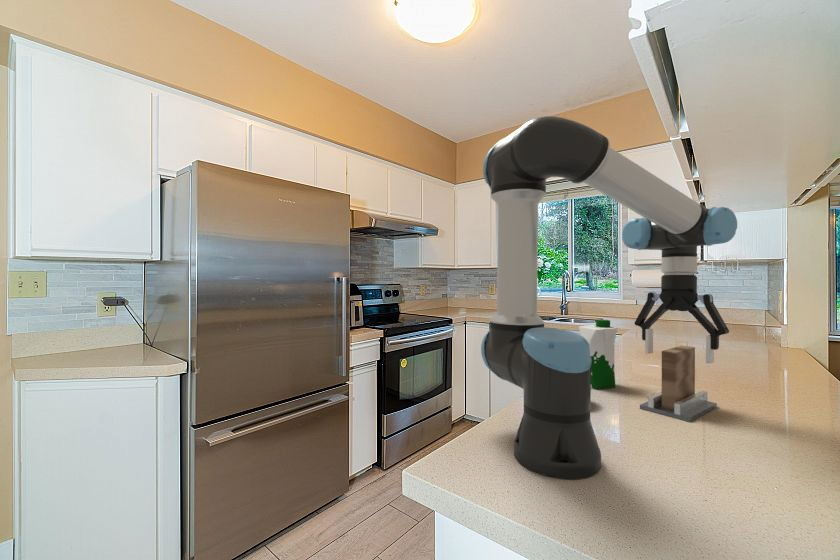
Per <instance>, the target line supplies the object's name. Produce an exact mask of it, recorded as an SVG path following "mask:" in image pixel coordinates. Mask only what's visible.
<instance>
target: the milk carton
mask: <svg viewBox="0 0 840 560" xmlns="http://www.w3.org/2000/svg"><path fill="white" fill-rule="evenodd" d="M578 328H579V335H581V336H583V337H584V338H585V339H586V340H587V341H588V343H589V346H590V357H591V360H592V362H591V385H592V389H594V388H595V390H602V389H612V388H616V375H615V342H616V335H617V331H618V327H614V326H613V327H612V326H611V320H610V319H595V325H584V326H582V325H579V326H578Z"/></svg>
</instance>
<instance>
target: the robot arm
mask: <svg viewBox="0 0 840 560" xmlns="http://www.w3.org/2000/svg"><path fill="white" fill-rule="evenodd" d="M482 172H483V174H482V175H483V179H484V180H485V181H484V182H485V184H487V185H488V187H489V189H490V198H491V199H492V200H493V202H495V204H497V261H496V262H497V263H496V264H497V267H496V270H497V271H496V276H497V277H496V278H497V279H496V312H495V314H494V315H493V316H492V317H490V319H489V329H488V330H487V333H486V334H485V335H484V336H483V338H482V341H481V345H480V351H481V352H480V354H481V358H482V361H483V362H484V365H485V366H486V367H487V369H488V370H489V371H491V373H493V374H494V375H495V376H497V377H498V378H499V379H502V381H507V382H508V383H511V384H513V385H515V386H517V387H519V388H521V389H522V390H523V414H522V417H521V421H520V423H519V426H518V429H517V432H516V435H515V438H514V442H513V444H514V445H513V447H514V448H513V450H514V451H513V454H514V457H515V460H517V462H518V463H519V464H521V465H522V466H523V467H525V468H527V470H530V471H532V472H535V473H537V474H540V475H543V476H547V477H551V478H557V479H564V480H567V479H568V480H578V479H579V480H581V479H586V478H590V477H593V476H594V475H596V474H598V473H599V472H600V471H601V468H602V452H601V449H600V447H599V443H598V440H597V437H596V434H595V431H594V427H593V425H592V421H591V404H592V403H591V401H592V400H591V398H592V396H591V395H592V394H591V393H592V389H591V362H592V360H591V357H590V346H589V343H588V341H587V340H586V339H585V338H584V337H583V336H581V335H580V333H576V332H574V331H571V330H566V329H559V328H555V327H545V320H543V318H541V316H539V314H538V257H539V256H538V255H539V254H538V251H539V249H538V248H539V247H538V245H539V204H540V202H541V201H542V200H543V199H544V198H545V197H546V195H547V194H546V193H547V179H550V178H562V179H566V180H568V181H569V182H571V183H573V184H575V185H577V184H582V183H584V184H585V185H588V186H589V187H591V188H593V189H594V190H595V191H597V192H600V193H602V194H603V195H605V196H606V197H608V198H610V199H612V200H613V201H615V202H617V203H619V204H621V205H622V206H624V207H625V208H627V209H629V210H631V211H633V212H634V213H636V214H637V215H640V216H641V218H638V217H637V218H632V219H630V220H628V221H627V222H626V223H625V224H624V226H623V228H622V229H621V240H622V242H623V244H624V246H626V247H627V248H629V249H634V250H638V251H641V250H642V251H643V250H645V251H646V250H649V251H650V250H651V251H652V250H654V251H661V269H660V272H661V273H662V274H663V275H662V276H661V279H660V280H661V281H660V282H661V285H660V287H661V291H660V292H659V293H657V292H656V291H651V292H650V291H649V292H648V293H647V297H646V301H645V303H644V305H643V307H642V308H641V310H640V312H639V314H638V316H637V318H636V319H635V321H634V325H635V326H637V327H639V328H641V339H642V341H645V343H644V344H645V345H644V347H645V350H644V351H645V352H644V353H645V354H646V355H649V354H653V353H654V328H652V326H653V325H654V324H655V323H656V322H657V321H658V320H659V319H660V318H661V317H662V316H663V315H664V314H665V313H666V312H667V311H671V312H673V311H678V312H687V311H688V313H690V314H691V315H692V316H693V318H695V320H696V321H698V323H699V324H700V325H701V327H703V329H705V330H706V332H707V333H708V334H709V335H705V364H710V365H711V364H713V363H714V361H715V351H717V350H718V349H719V348H720V337H721V335H727V334H729V333H730V330H729V327H728V326H727V324H726V322H725V320H724V319H723V317H722V316H721V314H720V313H719V310H718V308H717V307H716V305H715V303H714V296H713V294H712V293H705V294H701V295H699V294H698V292H697V291H698V277H697V275H695V274H696V273H697V272H698V247H700V246H701V247H703V246H708V247H710V246H713V245H714V246H715V245H721V244H725V243H728V242H730V241H731V240H732V239H733V238H734V237H735V235H736V234H737V233H736V232H737V229H738V219H737V217H736V214H735V212H734V211H733V210H732V209H730V208H729V207H725V206H724V207H723V206H719V207H716V206H713V207H710V208H707V207H705V206H704V205H702V204H700V203H699V202H697V201H696V200H694V199H692V198H691V197H689V196H688V195H686V194H685V193H683V192H682V191H680V190H678V189H677V188H676V187H674V186H672V185H671V184H669V183H667V182H666V181H665V180H662V179H661V178H659V177H658V176H656V175H655V174H653V173H651V172H650V171H648V170H647V169H646V168H643V167H642V166H641V165H639V164H637V163H636V162H634V161H633V160H631V159H629V158H628V157H626V156H625V155H623V154H621V153H620V152H618V151H617V150H616V149H614V148H612V147H611V144H610V139H608V137H606V136H605V135H604V134H602V133H600V132H599V131H597V130H595V129H593V128H591V127H590V126H587V125H586V124H584V123H580V122H578V121H575V120H572V119H569V118H565V117H561V116H560V117H559V116H554V115H551V116H550V115H548V116H539V117H536V118H533V119H531V120H528V121H527V122H525V123H524V124H523V125H522V126H520V127H519V128H518V129H516V130H515V131H513V132H512V133H510V134H509V135H508V136H505V137H503V138H502V139H500V140H499V141H497V142H496V143H495V144H494V145H493V146H492V147H491V148H490V149H489V151H488V152H487V154H486V156H485V158H484V160H483V165H482ZM659 299H660V301H661V304H660V305H659V307H657V309H656V310H655V311H654V312H653V313H652V314H651V315H650V316H649V314H650V312H651V311H652V309H653V307H654V306H655V303H656V302H657V301H658V300H659ZM698 301H700V302H701V303H702V304H703V305H704V308H705V309H706V311H707V313H708V315H709V316H710V318H711V319H712V321H710V319H708V318H707V316H705V314H704V313H703V312H702V311H700V308H699V306H697V305H696V303H698ZM648 316H649V317H648ZM712 322H713V323H714V324H713V323H712Z"/></svg>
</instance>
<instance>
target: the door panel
mask: <svg viewBox="0 0 840 560" xmlns="http://www.w3.org/2000/svg"><path fill="white" fill-rule="evenodd" d="M695 349H696V347H694V346H687V345H679V346H675V347H671V348H668V349H664V350H661V392H662V407H663V408H667V409H671V410H674V403H676V402H678V401H680V400H682V399H685V398H687V397H689V396H691V395H693V394H695V393H696V392H695V391H696V352H695V351H696V350H695Z"/></svg>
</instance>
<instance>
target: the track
mask: <svg viewBox="0 0 840 560" xmlns="http://www.w3.org/2000/svg"><path fill="white" fill-rule="evenodd" d="M708 394H709V393H708V391H707V390H700V391H698V392H695V394H693V395H691V396H689V397H687V398H685V399H682V400H680V401H678V402H676V403H674V410H671V409H667V408H663V407H662V391H659V392H656V393H655V394H652V395H650V396H648V398H647V399H648V400H647V401H645V402H643V403H640V404H639V409H640V410H643V411H646V412H652V413H655V414H658V415H662V416H666V417H669V418H673V419H677V420H681V421H685V422H689V423H691V422H693V421H695V420H696V419H698V418H700V417H702V416H704V415H705V414H708V413H709V412H710V411H712V410H714V409H716V408H717V407H718V403H717V402H714V401H713V402H712V401H709V400H708V399H709V398H708Z"/></svg>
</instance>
